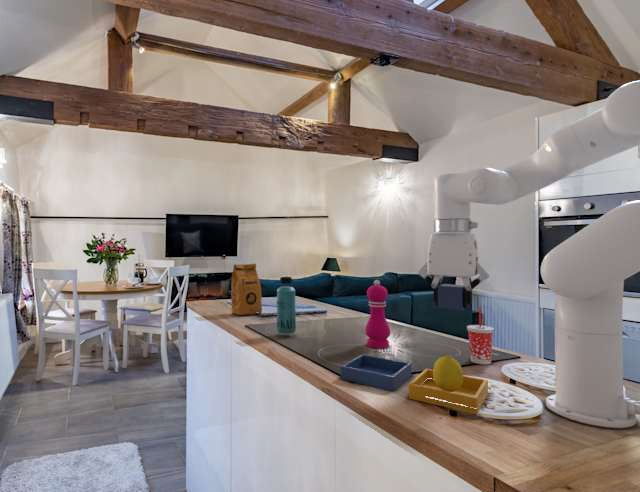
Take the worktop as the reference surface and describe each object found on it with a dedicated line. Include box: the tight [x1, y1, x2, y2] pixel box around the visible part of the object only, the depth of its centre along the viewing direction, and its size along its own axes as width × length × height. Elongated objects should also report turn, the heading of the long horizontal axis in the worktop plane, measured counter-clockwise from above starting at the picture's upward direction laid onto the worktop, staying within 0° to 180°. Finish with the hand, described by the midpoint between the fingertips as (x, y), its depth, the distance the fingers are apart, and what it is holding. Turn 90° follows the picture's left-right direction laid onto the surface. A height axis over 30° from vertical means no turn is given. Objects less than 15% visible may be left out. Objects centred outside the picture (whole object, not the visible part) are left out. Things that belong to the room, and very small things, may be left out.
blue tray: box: [340, 353, 412, 392], centre depth 95 cm, size 12×12×3 cm
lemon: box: [432, 354, 464, 392], centre depth 84 cm, size 6×6×8 cm
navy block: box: [437, 283, 466, 311], centre depth 93 cm, size 5×5×5 cm
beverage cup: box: [466, 307, 495, 365], centre depth 106 cm, size 6×6×14 cm
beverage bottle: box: [276, 276, 297, 335], centre depth 136 cm, size 6×7×20 cm
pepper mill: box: [364, 279, 391, 350], centre depth 122 cm, size 7×7×20 cm
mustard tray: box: [408, 368, 489, 415], centre depth 84 cm, size 12×12×3 cm
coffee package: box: [230, 263, 263, 316], centre depth 176 cm, size 10×12×22 cm
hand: (452, 305), depth 93 cm, fingers closed on navy block, 5 cm apart
